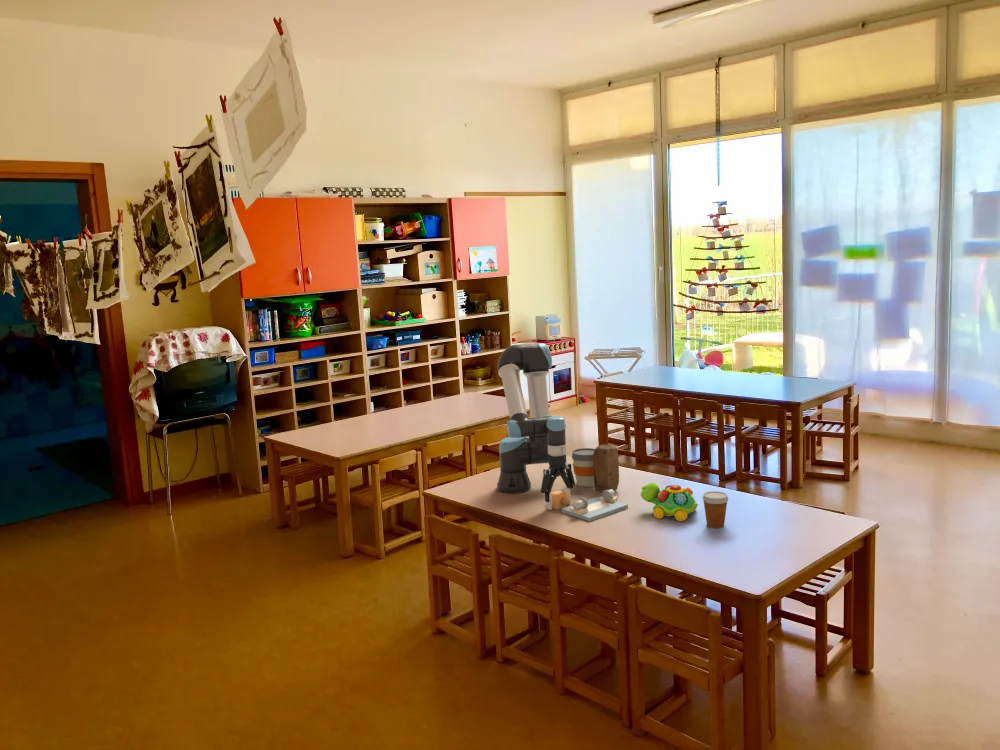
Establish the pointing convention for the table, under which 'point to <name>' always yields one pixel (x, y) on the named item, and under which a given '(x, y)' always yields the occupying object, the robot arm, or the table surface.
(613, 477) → the block
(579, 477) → the reusable coffee cup
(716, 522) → the disposable coffee cup
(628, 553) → the table surface
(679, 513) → the turtle toy
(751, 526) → the table surface
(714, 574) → the table surface
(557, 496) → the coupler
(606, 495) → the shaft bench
